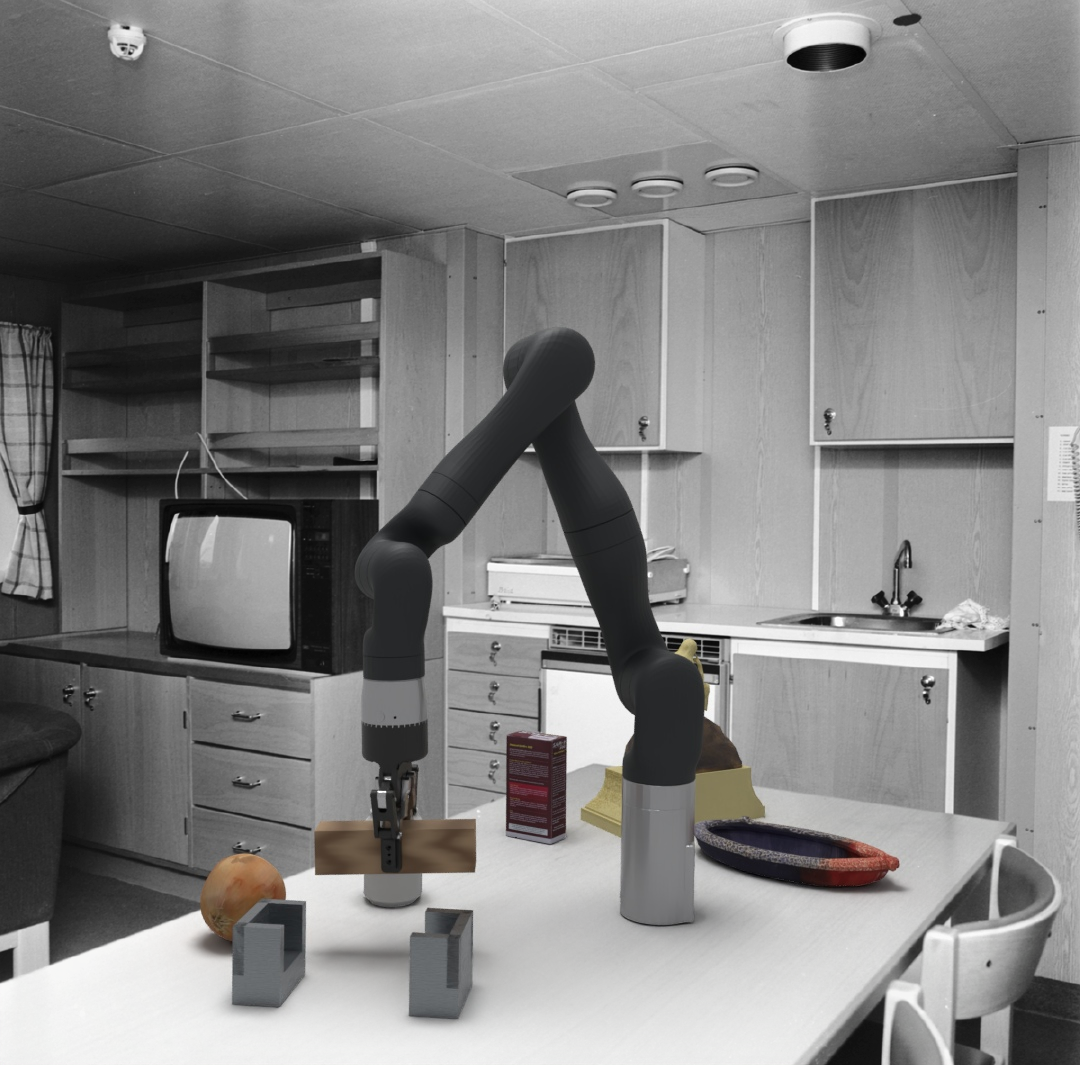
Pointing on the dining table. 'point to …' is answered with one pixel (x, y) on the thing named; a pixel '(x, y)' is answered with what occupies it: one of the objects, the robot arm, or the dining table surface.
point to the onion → (238, 891)
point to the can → (392, 885)
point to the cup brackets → (280, 952)
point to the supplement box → (536, 786)
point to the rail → (422, 847)
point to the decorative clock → (716, 783)
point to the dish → (792, 853)
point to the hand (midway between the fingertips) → (396, 864)
